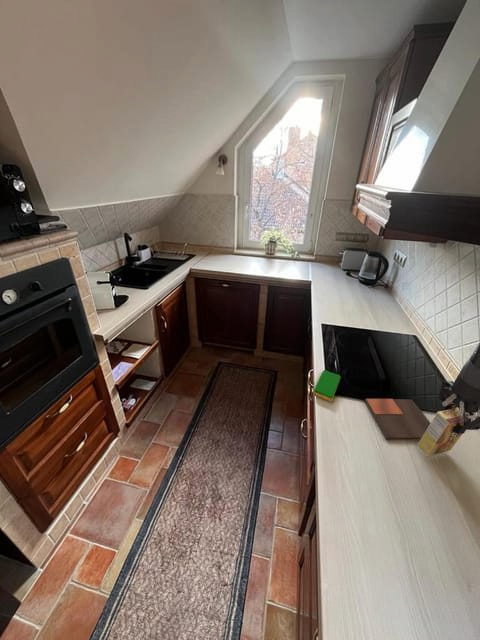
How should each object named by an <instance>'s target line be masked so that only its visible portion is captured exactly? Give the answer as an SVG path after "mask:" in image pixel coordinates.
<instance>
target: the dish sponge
mask: <svg viewBox="0 0 480 640" xmlns="http://www.w3.org/2000/svg"><path fill="white" fill-rule="evenodd" d="M341 377H342V376H341V375H340V374H336V373H333V372H331V371H329V370H326V369H324V370H322V372H321V374H320V377H319V379H318V380H317V382H316V385H315V386H314V389H313V391H312V394H313V396H316V397H318V398H321V399H323V400H325V401H328V402H333V399H334V397H335V394H336V392H337V388H338V387H339V384H340V382H341Z"/></svg>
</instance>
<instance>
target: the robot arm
mask: <svg viewBox="0 0 480 640" xmlns="http://www.w3.org/2000/svg"><path fill="white" fill-rule="evenodd" d="M438 400H439V401H441V406H440V407H441V408H440V409H439V411H438V412H440V411H444V410H448V409H453V408H454V407H456V408H457V407H458V408H459V416H460V419H459V422H458V423H457V425H456V426H455V428H454V429H453V432H454V433H457V434H462V435H463V434H465V433H466V432H467V431H479V430H480V342H478V344H477V345H476V347H475V348H474V350H473V352H472V353H471V355H470V357H469V359H468V360H467V361H466V362H465V363H464V365H463V366H462V367H461V369H460V370H459V373H458V374H457V376H456V378H455V380H454V381H453V380H451V381H450V380H443V381H442V383H441V386H440V390H439V394H438ZM466 418H467V420H466ZM465 420H466V421H465Z"/></svg>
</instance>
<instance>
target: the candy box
mask: <svg viewBox="0 0 480 640" xmlns="http://www.w3.org/2000/svg"><path fill="white" fill-rule="evenodd" d="M452 408H453V409H448V410H444V411H440V410H439V411H440V412H439V411H437V412H436V414H435V415H434V417H433V418H432V420H431V422H430V425H429V427H428V428H427V430H426V432H425V433H424V435H423V436H422V438H421V439H419V441H418V443H417V447H418V448H419V449H420V450H421V451H422V452H423V453H424V455H426V457H432V456H435V455H438V454H443V453H446V452H450V451H452V449H453V448H454V446H455V445H456V444H457V443H458V441H459V440H460V438H461V437H462V436H463V434H457V433H454V432H453V429H454V428H455V426H456V425H457V423H458V422H459V419H460V416H459V408H458V407H457V406H456V407H452ZM466 420H467V418H466ZM466 420H465V421H466Z"/></svg>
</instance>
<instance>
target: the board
mask: <svg viewBox="0 0 480 640" xmlns="http://www.w3.org/2000/svg"><path fill="white" fill-rule="evenodd" d="M364 403H365V405H366V407H367V408H368V410H369V412H370V414H371V415H372V418H373V419H374V421H375V423H376V425H377V426H378V428H379V430H380V431H381V433H382V436H383V437H384V439H385V440H421V438H422V436H423V435H424V433H425V432H426V430H427V428H428V427H429V425H430V423H431V422H430V420H429V419H428V418H427V416H426V415H425V414H424V413H423V412H422V410H421V409H420V408H419V407H418V405H417V404H416V403H415V402H414V400H413V399H411V398H409V399H408V398H406V399H405V398H403V399H402V398H365V399H364Z"/></svg>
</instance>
